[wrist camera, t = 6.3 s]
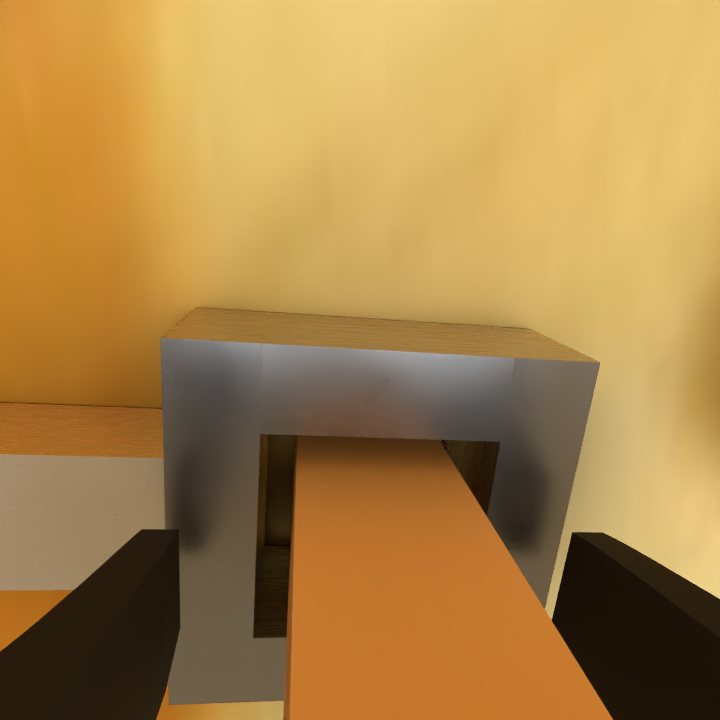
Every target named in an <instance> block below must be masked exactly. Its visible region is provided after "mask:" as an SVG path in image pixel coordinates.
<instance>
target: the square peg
mask: <svg viewBox="0 0 720 720" xmlns="http://www.w3.org/2000/svg"><path fill="white" fill-rule="evenodd" d="M283 720H613V719H612V717H611V715H610V714H609V712H608V711H607V709H606V707H605V706H604V704H603V703H602V701H601V699H600V698H599V696H598V695H597V693H596V691H595V690H594V688H593V687H592V685H591V683H590V682H589V680H588V678H587V677H586V675H585V674H584V672H583V670H582V669H581V667H580V666H579V664H578V662H577V661H576V659H575V658H574V656H573V654H572V653H571V651H570V650H569V648H568V646H567V645H566V643H565V641H564V640H563V638H562V637H561V635H560V633H559V632H558V630H557V629H556V627H555V625H554V624H553V622H552V621H551V619H550V617H549V616H548V614H547V613H546V611H545V609H544V608H543V606H542V604H541V603H540V601H539V600H538V598H537V596H536V595H535V593H534V592H533V590H532V588H531V587H530V585H529V584H528V582H527V580H526V579H525V577H524V576H523V574H522V572H521V571H520V569H519V567H518V566H517V564H516V563H515V561H514V559H513V558H512V556H511V555H510V553H509V551H508V550H507V548H506V547H505V545H504V543H503V542H502V540H501V539H500V537H499V535H498V534H497V532H496V530H495V529H494V527H493V526H492V524H491V522H490V521H489V519H488V518H487V516H486V514H485V513H484V511H483V510H482V508H481V506H480V505H479V503H478V502H477V500H476V498H475V497H474V495H473V493H472V492H471V490H470V489H469V487H468V485H467V484H466V482H465V481H464V479H463V477H462V476H461V474H460V473H459V471H458V469H457V468H456V466H455V465H454V463H453V461H452V460H451V458H450V456H449V455H448V453H447V452H446V450H445V448H444V447H443V445H442V444H441V442H440V440H430V439H400V438H369V437H339V436H308V435H296V449H295V466H294V482H293V499H292V516H291V538H290V564H289V589H288V615H287V641H286V666H285V692H284V718H283Z"/></svg>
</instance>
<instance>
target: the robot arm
mask: <svg viewBox="0 0 720 720" xmlns="http://www.w3.org/2000/svg"><path fill="white" fill-rule="evenodd" d="M552 622H553V624H554V625H555V627H556V629H557V630H558V632H559V633H560V635H561V637H562V638H563V640H564V641H565V643H566V645H567V646H568V648H569V650H570V651H571V653H572V654H573V656H574V658H575V659H576V661H577V662H578V664H579V666H580V667H581V669H582V670H583V672H584V674H585V675H586V677H587V678H588V680H589V682H590V683H591V685H592V687H593V688H594V690H595V691H596V693H597V695H598V696H599V698H600V699H601V701H602V703H603V704H604V706H605V707H606V709H607V711H608V712H609V714H610V715H611V717H612V719H613V720H720V599H719V598H717V597H715V596H714V595H712V594H710V593H708V592H707V591H705V590H703V589H702V588H700V587H698V586H697V585H695V584H693V583H691V582H690V581H688V580H686V579H685V578H683V577H681V576H680V575H678V574H676V573H675V572H673V571H671V570H669V569H668V568H666V567H664V566H663V565H661V564H659V563H658V562H656V561H654V560H652V559H651V558H649V557H647V556H645V555H644V554H642V553H640V552H638V551H637V550H635V549H633V548H631V547H630V546H628V545H626V544H624V543H622V542H620V541H618V540H616V539H614V538H612V537H610V536H608V535H606V534H604V533H589V532H572V536H571V540H570V545H569V549H568V553H567V558H566V562H565V566H564V570H563V575H562V579H561V583H560V588H559V592H558V596H557V601H556V605H555V609H554V614H553V618H552ZM179 631H180V570H179V529H141V530H140V531H139V532H138V533H137V534H136V535H134V536H133V537H132V538H131V539H130V540H129V541H128V542H126V543H125V544H124V545H123V546H122V547H121V548H120V549H119V550H118V551H116V552H115V553H114V554H113V555H112V556H111V557H110V558H109V559H108V560H107V561H106V562H104V563H103V564H102V565H101V566H100V567H99V568H98V569H97V570H96V571H94V572H93V573H92V574H91V575H90V576H89V577H88V578H87V579H86V580H85V581H83V582H82V583H81V584H80V585H79V586H78V587H77V588H76V589H74V590H73V591H72V592H71V593H70V594H69V595H67V596H66V597H65V598H64V599H63V600H62V601H61V602H59V603H58V604H57V605H56V606H55V607H54V608H52V609H51V610H50V611H49V612H48V613H47V614H46V615H44V616H43V617H42V618H41V619H40V620H39V621H37V622H36V623H35V624H34V625H33V626H32V627H30V628H29V629H28V630H27V631H26V632H24V633H23V634H22V635H21V636H19V637H18V638H17V639H16V640H14V641H13V642H12V643H11V644H9V645H8V646H7V647H6V648H4V649H3V650H2V651H1V652H0V720H156V718H157V715H158V712H159V709H160V706H161V703H162V700H163V697H164V694H165V691H166V687H167V683H168V679H169V675H170V670H171V666H172V662H173V658H174V653H175V649H176V644H177V640H178V636H179Z"/></svg>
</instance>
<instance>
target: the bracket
mask: <svg viewBox="0 0 720 720" xmlns="http://www.w3.org/2000/svg"><path fill="white" fill-rule="evenodd" d="M599 366H600V362H598V361H596V360H594V359H592V358H590V357H588V356H585V355H583V354H581V353H579V352H577V351H575V350H573V349H571V348H569V347H567V346H565V345H562V344H560V343H558V342H556V341H554V340H552V339H550V338H548V337H546V336H544V335H542V334H540V333H537V332H535V331H533V330H531V329H522V328H507V327H492V326H476V325H461V324H445V323H430V322H414V321H399V320H384V319H368V318H353V317H337V316H322V315H306V314H291V313H276V312H260V311H245V310H229V309H214V308H196V309H195V310H194V311H193V312H191V313H190V314H189V315H188V316H187V317H185V318H184V319H183V320H182V321H181V322H179V323H178V324H177V325H176V326H175V327H173V328H172V329H171V330H170V331H168V332H167V333H166V334H165V335H164V336H162V337H161V367H162V409H156V408H130V407H103V406H77V405H51V404H25V403H0V591H8V590H74V589H76V588H77V587H78V586H79V585H80V584H81V583H82V582H83V581H85V580H86V579H87V578H88V577H89V576H90V575H91V574H92V573H93V572H94V571H96V570H97V569H98V568H99V567H100V566H101V565H102V564H103V563H104V562H106V561H107V560H108V559H109V558H110V557H111V556H112V555H113V554H114V553H115V552H116V551H118V550H119V549H120V548H121V547H122V546H123V545H124V544H125V543H126V542H128V541H129V540H130V539H131V538H132V537H133V536H134V535H136V534H137V533H138V532H139V531H140V530H141V529H179V570H180V631H179V636H178V640H177V644H176V649H175V653H174V658H173V662H172V666H171V670H170V675H169V679H168V681H169V705H179V704H206V703H232V702H259V701H284V692H285V666H286V641H287V615H288V589H289V564H290V546H264V535H265V510H266V485H267V460H268V434H277V435H308V436H339V437H369V438H400V439H430V440H447V447H446V452H447V453H448V455H449V456H450V458H451V460H452V461H453V463H454V465H455V466H456V468H457V469H458V471H459V473H460V474H461V476H462V477H463V479H464V481H465V482H466V484H467V485H468V487H469V489H470V490H471V492H472V493H473V495H474V497H475V498H476V500H477V502H478V503H479V505H480V506H481V508H482V510H483V511H484V513H485V514H486V516H487V518H488V519H489V521H490V522H491V524H492V526H493V527H494V529H495V530H496V532H497V534H498V535H499V537H500V539H501V540H502V542H503V543H504V545H505V547H506V548H507V550H508V551H509V553H510V555H511V556H512V558H513V559H514V561H515V563H516V564H517V566H518V567H519V569H520V571H521V572H522V574H523V576H524V577H525V579H526V580H527V582H528V584H529V585H530V587H531V588H532V590H533V592H534V593H535V595H536V596H537V598H538V600H539V601H540V603H541V604H542V606H543V608H544V609H545V605H546V601H547V596H548V592H549V587H550V583H551V578H552V574H553V570H554V565H555V561H556V556H557V552H558V547H559V543H560V539H561V534H562V530H563V525H564V521H565V516H566V512H567V508H568V503H569V499H570V494H571V490H572V485H573V481H574V477H575V472H576V468H577V463H578V459H579V454H580V450H581V445H582V441H583V437H584V432H585V428H586V423H587V419H588V414H589V410H590V406H591V401H592V397H593V392H594V388H595V383H596V379H597V375H598V370H599Z"/></svg>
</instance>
